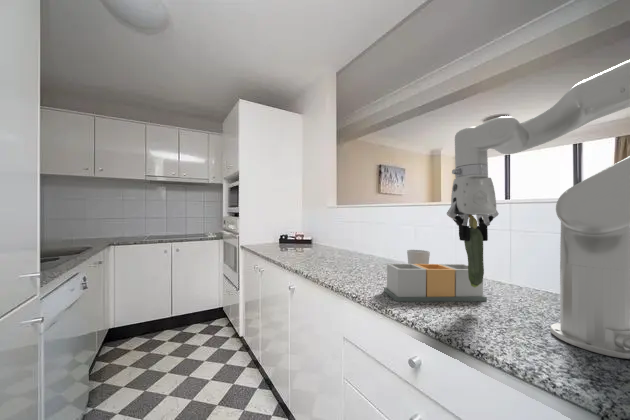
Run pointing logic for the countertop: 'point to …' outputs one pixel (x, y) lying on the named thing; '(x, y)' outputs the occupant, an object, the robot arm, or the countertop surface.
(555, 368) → the countertop surface
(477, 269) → the vegetable
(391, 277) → the compartment organizer
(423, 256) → the cup
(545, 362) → the countertop surface
